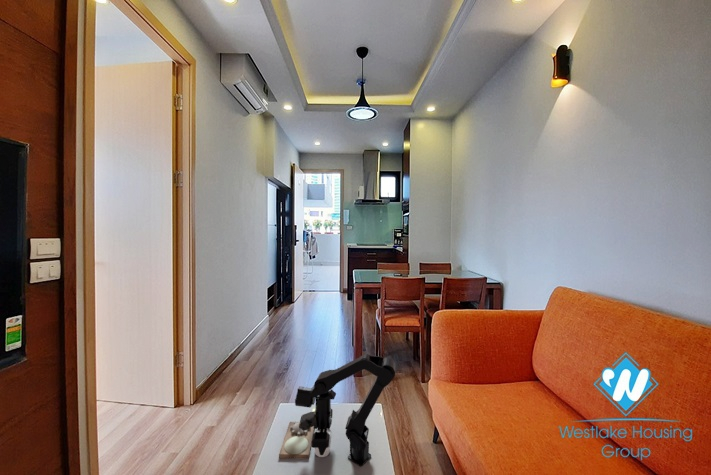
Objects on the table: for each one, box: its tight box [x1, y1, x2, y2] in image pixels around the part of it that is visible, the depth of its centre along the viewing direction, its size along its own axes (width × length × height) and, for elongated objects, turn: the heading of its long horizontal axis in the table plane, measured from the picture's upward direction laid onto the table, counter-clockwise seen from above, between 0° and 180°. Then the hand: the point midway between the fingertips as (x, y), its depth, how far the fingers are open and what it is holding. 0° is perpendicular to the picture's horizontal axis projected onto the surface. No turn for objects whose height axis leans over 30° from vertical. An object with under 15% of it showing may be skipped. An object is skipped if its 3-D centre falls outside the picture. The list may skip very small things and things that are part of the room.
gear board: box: [278, 421, 315, 460], centre depth 114 cm, size 11×18×4 cm, turn 0°
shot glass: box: [314, 428, 333, 458], centre depth 109 cm, size 7×7×7 cm
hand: (322, 448), depth 109 cm, fingers closed on shot glass, 6 cm apart
